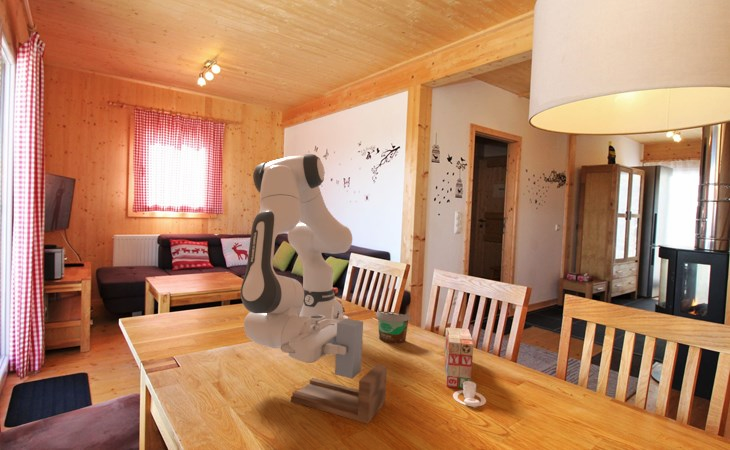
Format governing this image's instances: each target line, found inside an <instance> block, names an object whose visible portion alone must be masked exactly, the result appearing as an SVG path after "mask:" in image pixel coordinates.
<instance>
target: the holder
mask: <svg viewBox="0 0 730 450" xmlns="http://www.w3.org/2000/svg"><path fill="white" fill-rule="evenodd" d="M387 368H388V366H387V365H382V364H378V363H377V364H375V365H374V367H373V368H371V369H370V370H369V371H368V372H367V373H366V374H365V375H364V376H362V378H360V380H358V389H356V388H352V387H348V386H344V385H340V384H337V383H333V382H329V381H325V380H321V379H317V378H313V377H312V378H311V379H309V383H308V384H306V385H305V386H304V387H302V388H301V389H300V390H294V391H293V392H292V393H291V394H292V396H290V402H293V403H295V404H298V405H299V404H300V405H302V406H306V407H308V408H309V407H310V408H313V409H316V410H321V411H324V412H327V413H331V414H332V415H337V416H340V417H342V418H343V417H344V418H346V419H350V420H354V421H356V422H360V423H364V424H367V425H368V424H369V423H370V422H371V420H372V419H374V417H375V416H376V415H377V414H378V413H379V412H380V410H381V408H382V407H383V406H384V405H385V403H386V390H387V388H386V386H387V370H388V369H387Z"/></svg>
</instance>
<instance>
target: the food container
mask: <svg viewBox="0 0 730 450" xmlns="http://www.w3.org/2000/svg"><path fill="white" fill-rule="evenodd" d="M375 315H376V316H375V317H377V319H378V321H377V322H378V323H377V324H378V325H377V326H378V339H379V341H382V342H383V343H387V344H392V345H393V344H395V343H397V344H402V343H405V342H406V339H407V331H408V326H409V321H410V320H411V319H412V318H411V315H410V312H408V313H405V314H402V313H398V312H395V311H381V310H380V308H377V311H376V314H375Z"/></svg>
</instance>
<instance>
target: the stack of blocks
mask: <svg viewBox="0 0 730 450" xmlns="http://www.w3.org/2000/svg"><path fill="white" fill-rule="evenodd" d="M470 332H471V331H470V330H469V328H458V327H445V335H444V336H445V339H444V340H445V342H444V367H445V380H446V381H445V382H446V385H445V386H446V387H447V388H454V389H455V388H456V389H463V383H464V382H465V381H471V382H472V367H473V355H474V354H473V353H474V342H473V338H472V335H471V333H470Z"/></svg>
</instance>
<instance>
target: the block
mask: <svg viewBox="0 0 730 450" xmlns="http://www.w3.org/2000/svg"><path fill="white" fill-rule="evenodd" d="M363 329H364V321H362V320H356V319H351V318H348V319H347V318H346V319H344V320H342V321H340V322H339V323H337V338H336V345H341V344H343V345H347V346H348V352H347V353H346V354H345V355H342V354H335V364H334V375H335V376H336V375H337V376H340V377H345V378H347V379H354V378H355V377H356V376H357V375H359V374H360V373H361V371H362V355H363V352H362V351H363V337H364V336H363V333H364V331H363Z"/></svg>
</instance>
